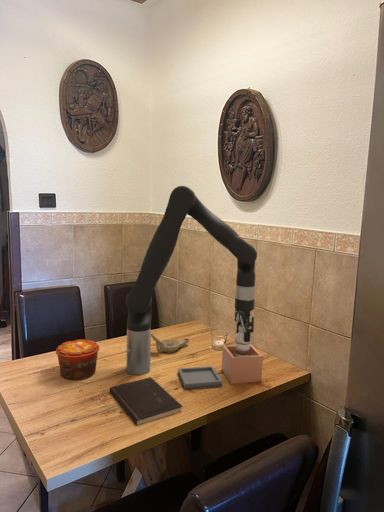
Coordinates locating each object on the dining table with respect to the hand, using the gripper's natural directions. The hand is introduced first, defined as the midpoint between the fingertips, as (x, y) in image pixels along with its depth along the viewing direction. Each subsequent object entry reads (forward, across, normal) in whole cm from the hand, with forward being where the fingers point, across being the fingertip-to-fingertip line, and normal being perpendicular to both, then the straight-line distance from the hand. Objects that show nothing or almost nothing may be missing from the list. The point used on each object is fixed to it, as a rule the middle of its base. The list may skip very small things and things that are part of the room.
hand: (242, 337), depth 144 cm
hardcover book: (+16, +13, -39) cm, 44 cm away
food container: (+15, -12, -62) cm, 65 cm away
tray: (+15, +1, -17) cm, 23 cm away
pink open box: (+15, 0, 0) cm, 15 cm away
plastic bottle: (+15, 0, 0) cm, 15 cm away
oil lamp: (+15, -29, -23) cm, 40 cm away
